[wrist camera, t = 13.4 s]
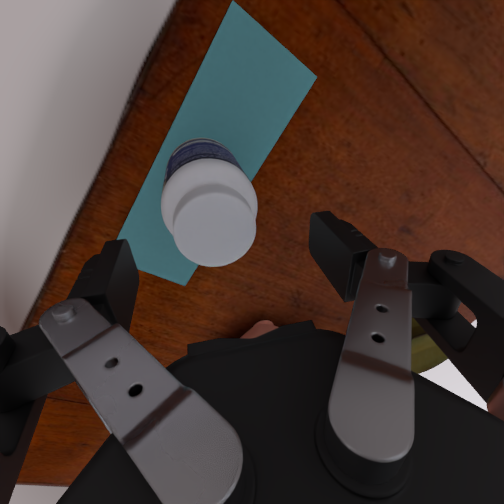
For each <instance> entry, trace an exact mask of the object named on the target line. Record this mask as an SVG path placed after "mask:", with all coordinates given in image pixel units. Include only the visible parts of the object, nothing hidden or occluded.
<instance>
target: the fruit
mask: <svg viewBox="0 0 504 504" xmlns="http://www.w3.org/2000/svg"><path fill="white" fill-rule="evenodd" d="M447 359H448V358H447V356H446V355H445V354H444V353H443V352H442V351H441V349H440V348H439V347H438V346H437V345H436V344H435V342H434V341H433V340H432V339H431V338H430V337H429V335H428V334H427V333H426V332H425V331H424V330H423V328H422V327H421V326H420V325H419V324H418V323H417V321H416V320H415V319H414V318H413V317H412V330H411V371H413V372H415V373H417V374H419V373H422V372H424V371H427V370H429V369H431V368H433V367H435V366H437V365H439V364H440V363H442V362H444V361H445V360H447Z"/></svg>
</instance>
